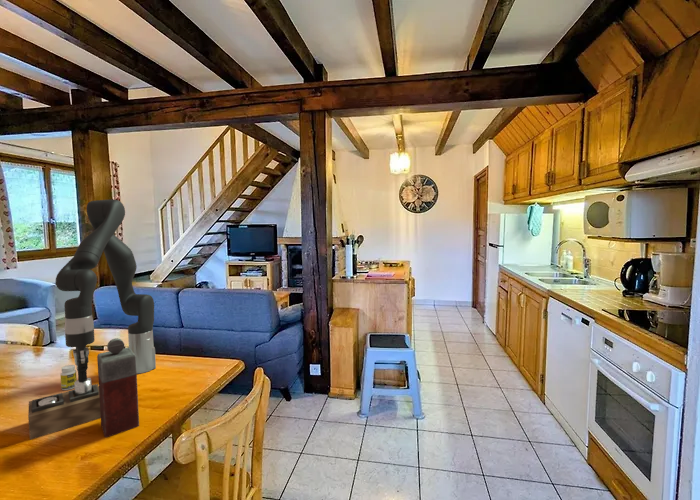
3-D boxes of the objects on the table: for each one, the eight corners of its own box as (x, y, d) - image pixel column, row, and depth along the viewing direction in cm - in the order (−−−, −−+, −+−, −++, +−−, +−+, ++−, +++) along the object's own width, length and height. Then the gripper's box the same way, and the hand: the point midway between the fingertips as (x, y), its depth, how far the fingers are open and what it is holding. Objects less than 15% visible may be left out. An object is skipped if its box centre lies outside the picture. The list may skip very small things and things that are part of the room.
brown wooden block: (98, 403, 124) (97, 381, 123) (103, 416, 115) (102, 393, 114) (30, 422, 112) (28, 398, 111) (29, 439, 103) (28, 413, 102)
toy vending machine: (132, 411, 118) (128, 331, 116) (139, 426, 110) (135, 339, 107) (100, 421, 112) (95, 337, 110) (105, 437, 104) (99, 346, 101)
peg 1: (57, 415, 113) (56, 395, 113) (58, 421, 110) (57, 400, 109) (39, 420, 110) (38, 400, 110) (39, 426, 107) (38, 405, 106)
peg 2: (91, 395, 119) (90, 376, 118) (93, 400, 116) (91, 381, 115) (75, 400, 116) (73, 380, 115) (76, 405, 113) (74, 385, 112)
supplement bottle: (68, 391, 132) (66, 369, 132) (58, 390, 133) (56, 368, 133) (80, 385, 137) (78, 364, 136) (70, 384, 138) (69, 363, 137)
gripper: (96, 332, 112) (99, 384, 113) (91, 323, 121) (94, 371, 123) (66, 337, 106) (69, 391, 108) (63, 327, 116) (66, 377, 118)
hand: (82, 380), depth 115 cm, fingers closed
